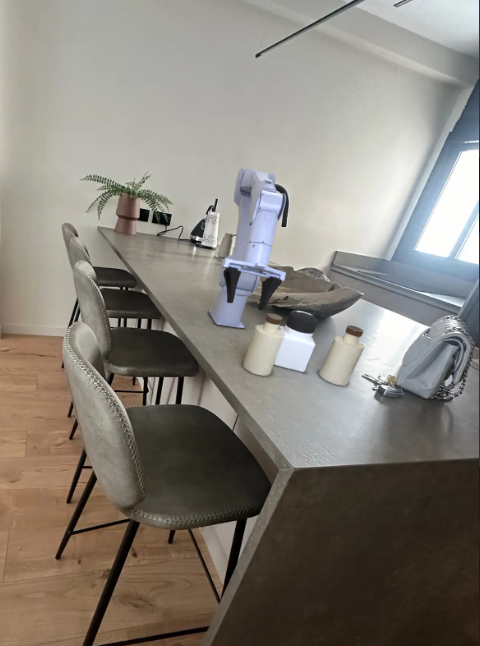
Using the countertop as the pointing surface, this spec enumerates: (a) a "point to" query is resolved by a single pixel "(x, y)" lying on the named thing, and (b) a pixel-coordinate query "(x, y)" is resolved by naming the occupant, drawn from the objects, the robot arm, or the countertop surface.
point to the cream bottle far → (342, 357)
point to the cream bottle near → (264, 346)
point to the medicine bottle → (297, 341)
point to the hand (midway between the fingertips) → (245, 306)
